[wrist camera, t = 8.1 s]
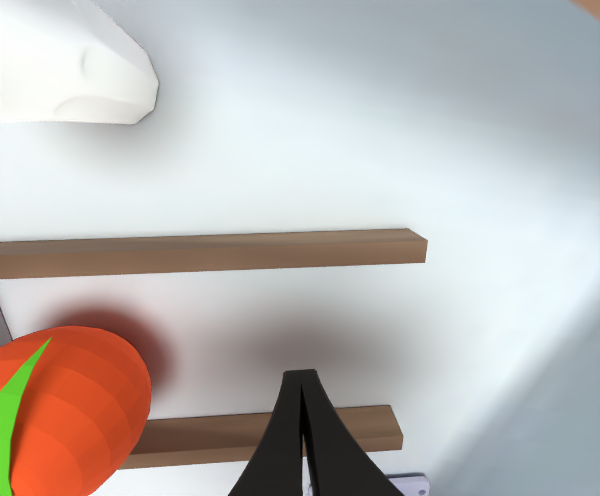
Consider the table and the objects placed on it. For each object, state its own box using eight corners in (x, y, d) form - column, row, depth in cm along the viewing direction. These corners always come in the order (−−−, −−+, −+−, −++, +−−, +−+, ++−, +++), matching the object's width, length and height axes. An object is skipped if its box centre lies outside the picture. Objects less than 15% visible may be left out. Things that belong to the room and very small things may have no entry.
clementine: (43, 261, 14) (-197, 368, 7) (191, 300, 15) (112, 427, 8) (30, 391, 16) (-159, 570, 9) (160, 417, 17) (78, 595, 10)
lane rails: (388, 417, 18) (401, 449, 16) (14, 442, 17) (-20, 479, 15) (408, 228, 14) (427, 240, 12) (-73, 244, 13) (-134, 260, 11)
